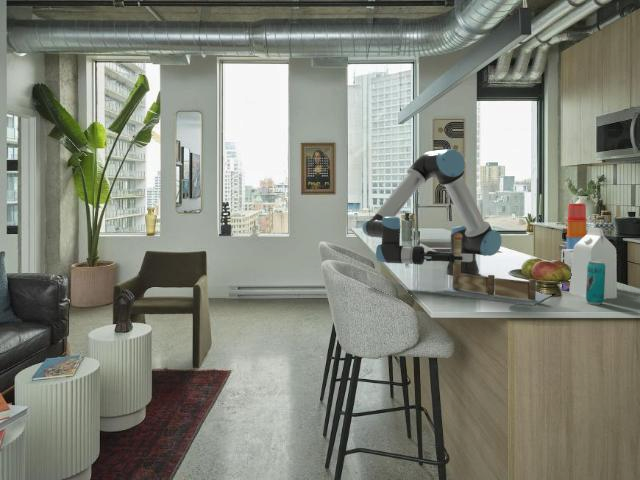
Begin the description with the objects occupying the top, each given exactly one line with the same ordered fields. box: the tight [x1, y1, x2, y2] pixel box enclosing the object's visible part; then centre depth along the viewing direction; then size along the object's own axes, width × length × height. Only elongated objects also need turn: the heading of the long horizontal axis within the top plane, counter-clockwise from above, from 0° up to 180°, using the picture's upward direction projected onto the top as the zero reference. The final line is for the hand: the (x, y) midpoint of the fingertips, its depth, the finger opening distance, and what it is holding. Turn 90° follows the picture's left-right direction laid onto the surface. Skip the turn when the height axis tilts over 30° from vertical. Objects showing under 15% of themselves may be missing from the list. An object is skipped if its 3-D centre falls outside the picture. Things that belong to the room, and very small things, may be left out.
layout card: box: [432, 285, 552, 306], centre depth 214 cm, size 28×38×1 cm
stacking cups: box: [565, 203, 588, 249], centre depth 238 cm, size 10×10×35 cm
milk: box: [568, 226, 618, 300], centre depth 209 cm, size 12×12×26 cm
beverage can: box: [585, 261, 606, 306], centre depth 195 cm, size 6×6×15 cm
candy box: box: [560, 248, 573, 291], centre depth 222 cm, size 14×6×16 cm, turn 71°
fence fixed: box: [487, 274, 537, 300], centre depth 203 cm, size 2×18×7 cm, turn 52°
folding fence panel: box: [452, 233, 488, 294], centre depth 215 cm, size 16×4×22 cm, turn 38°
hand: (471, 258), depth 217 cm, fingers closed on folding fence panel, 3 cm apart
